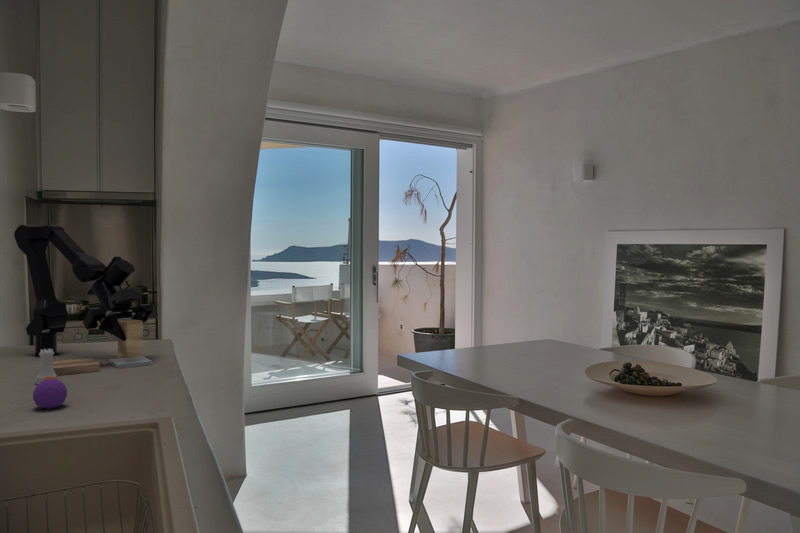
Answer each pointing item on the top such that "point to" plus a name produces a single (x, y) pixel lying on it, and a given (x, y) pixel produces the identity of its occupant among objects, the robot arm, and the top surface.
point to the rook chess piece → (45, 365)
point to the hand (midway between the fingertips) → (133, 338)
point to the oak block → (131, 339)
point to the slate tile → (130, 362)
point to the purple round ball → (50, 393)
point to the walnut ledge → (75, 366)
